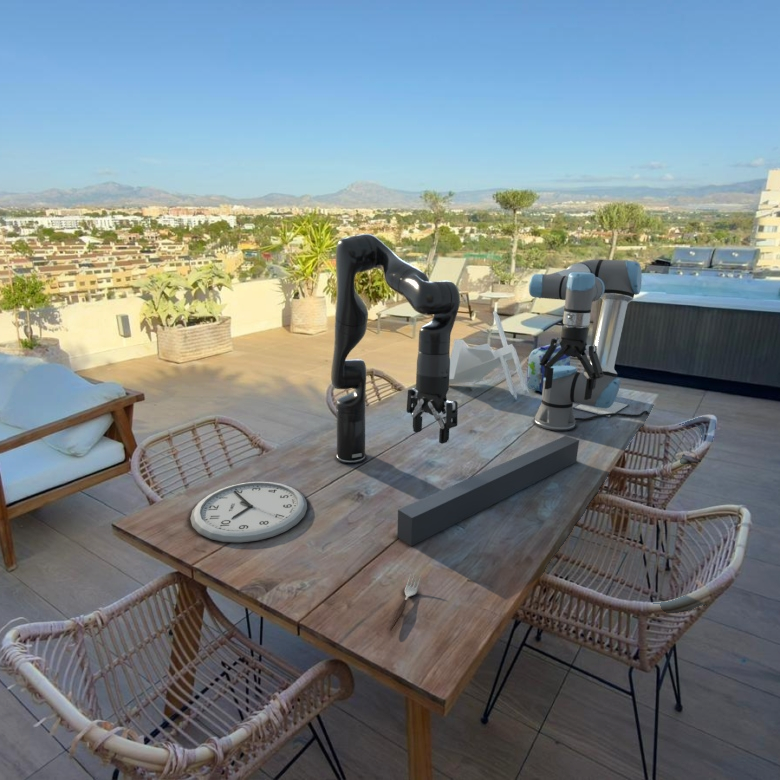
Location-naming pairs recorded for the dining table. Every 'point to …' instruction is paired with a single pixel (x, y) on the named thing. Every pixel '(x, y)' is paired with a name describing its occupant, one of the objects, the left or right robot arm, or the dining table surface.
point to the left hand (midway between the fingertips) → (430, 436)
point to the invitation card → (612, 409)
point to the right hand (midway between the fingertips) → (567, 393)
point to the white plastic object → (484, 361)
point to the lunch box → (541, 367)
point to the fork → (409, 592)
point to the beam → (483, 490)
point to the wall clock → (248, 512)
